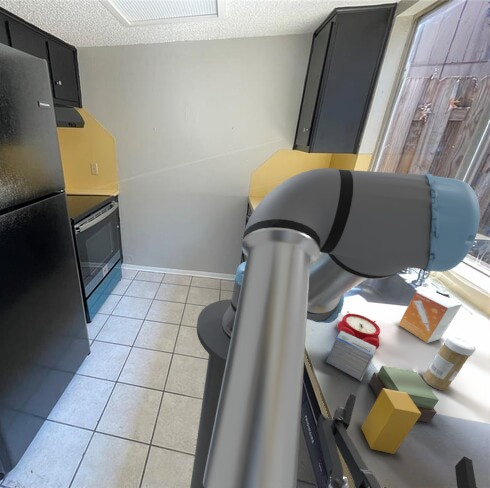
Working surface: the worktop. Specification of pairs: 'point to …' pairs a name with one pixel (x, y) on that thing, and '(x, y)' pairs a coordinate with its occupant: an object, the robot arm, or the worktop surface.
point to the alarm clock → (360, 328)
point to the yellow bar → (390, 420)
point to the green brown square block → (406, 389)
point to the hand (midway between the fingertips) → (401, 428)
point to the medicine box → (351, 355)
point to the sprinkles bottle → (448, 362)
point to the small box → (429, 315)
